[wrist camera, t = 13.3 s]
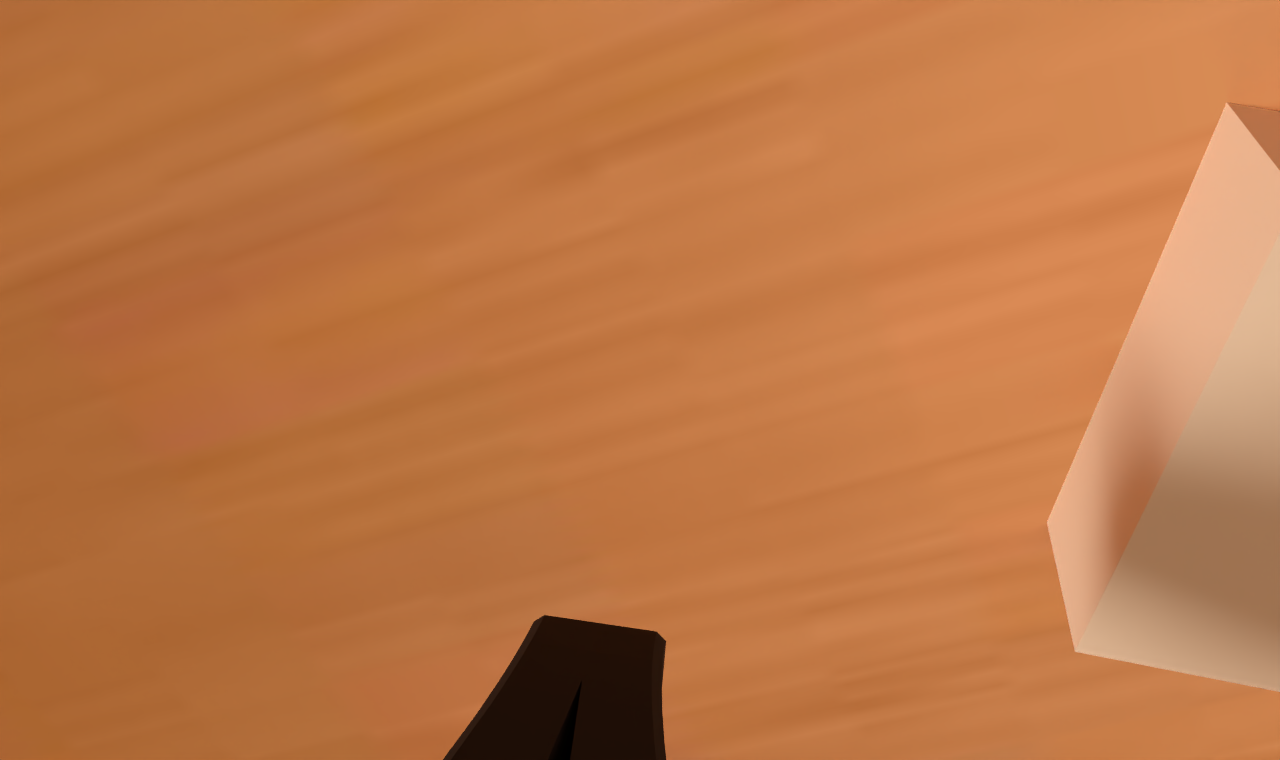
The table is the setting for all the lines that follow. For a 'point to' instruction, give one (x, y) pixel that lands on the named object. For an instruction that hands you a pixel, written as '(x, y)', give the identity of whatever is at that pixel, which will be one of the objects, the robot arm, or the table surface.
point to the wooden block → (1190, 441)
